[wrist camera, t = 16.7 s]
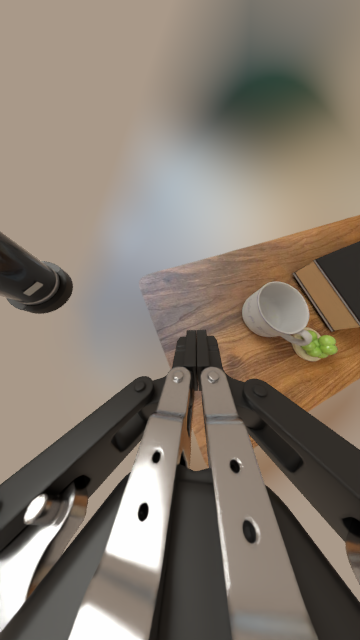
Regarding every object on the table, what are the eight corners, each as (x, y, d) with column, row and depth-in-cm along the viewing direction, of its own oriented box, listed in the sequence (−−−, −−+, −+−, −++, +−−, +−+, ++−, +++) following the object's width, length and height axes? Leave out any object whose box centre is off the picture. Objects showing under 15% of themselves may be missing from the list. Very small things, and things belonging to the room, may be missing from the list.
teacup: (228, 305, 32) (248, 291, 25) (262, 290, 34) (290, 272, 27) (257, 359, 30) (290, 361, 22) (292, 339, 32) (333, 335, 24)
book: (289, 275, 37) (316, 258, 30) (348, 250, 41) (382, 231, 35) (327, 332, 34) (365, 327, 27) (386, 298, 38) (430, 287, 32)
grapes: (287, 350, 31) (312, 350, 26) (296, 322, 33) (320, 316, 28) (317, 367, 31) (348, 370, 26) (324, 337, 33) (354, 334, 28)
